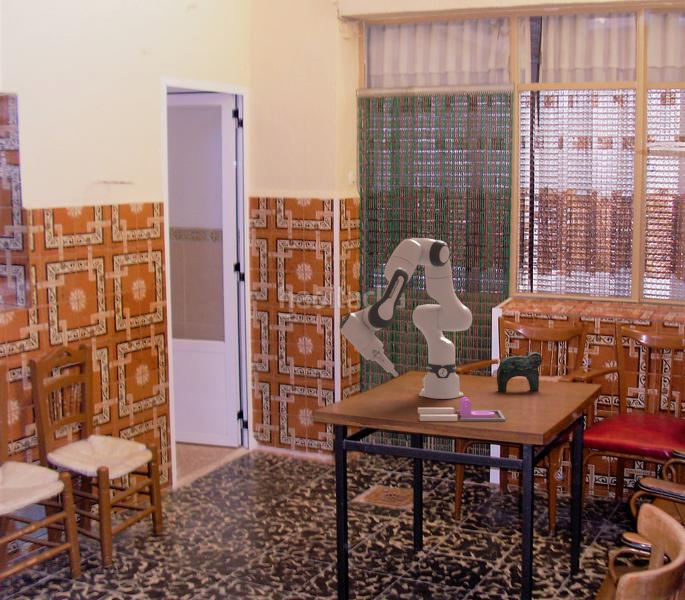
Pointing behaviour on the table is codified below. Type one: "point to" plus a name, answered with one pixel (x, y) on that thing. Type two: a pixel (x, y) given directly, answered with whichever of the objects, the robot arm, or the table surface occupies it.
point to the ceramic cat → (519, 369)
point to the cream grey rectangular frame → (452, 415)
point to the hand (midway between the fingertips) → (396, 375)
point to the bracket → (467, 413)
